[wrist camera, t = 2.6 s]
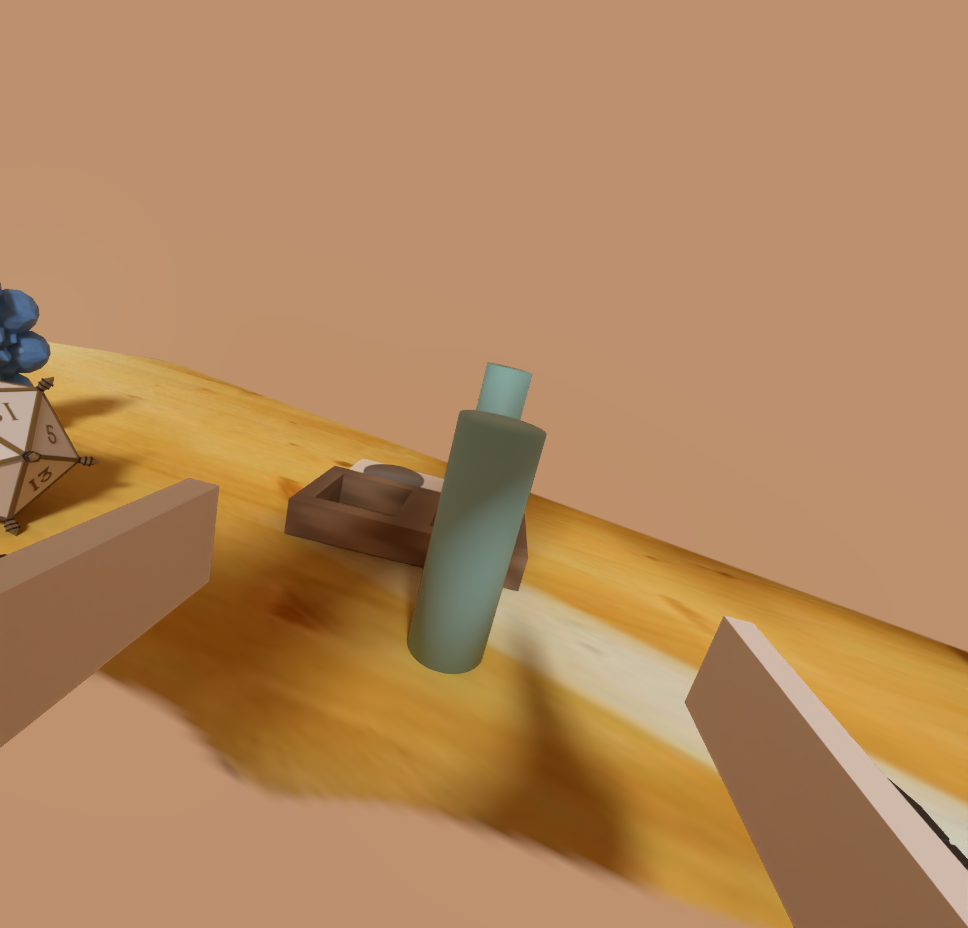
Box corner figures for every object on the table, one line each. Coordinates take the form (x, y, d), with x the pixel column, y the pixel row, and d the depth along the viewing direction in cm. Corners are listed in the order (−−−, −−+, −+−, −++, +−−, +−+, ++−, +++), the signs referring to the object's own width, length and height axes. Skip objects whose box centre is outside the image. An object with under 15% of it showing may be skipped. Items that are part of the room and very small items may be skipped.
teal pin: (497, 648, 24) (560, 434, 21) (453, 687, 21) (520, 439, 18) (439, 611, 26) (489, 409, 23) (390, 641, 23) (441, 410, 20)
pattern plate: (515, 506, 46) (518, 495, 45) (516, 540, 38) (520, 527, 38) (360, 467, 46) (362, 456, 45) (330, 493, 38) (332, 480, 38)
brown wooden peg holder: (516, 540, 38) (524, 512, 37) (518, 590, 30) (528, 558, 30) (330, 493, 38) (334, 465, 37) (284, 533, 30) (288, 498, 30)
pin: (506, 500, 43) (540, 375, 40) (483, 508, 40) (518, 372, 37) (472, 484, 45) (502, 364, 42) (448, 491, 42) (478, 361, 39)
